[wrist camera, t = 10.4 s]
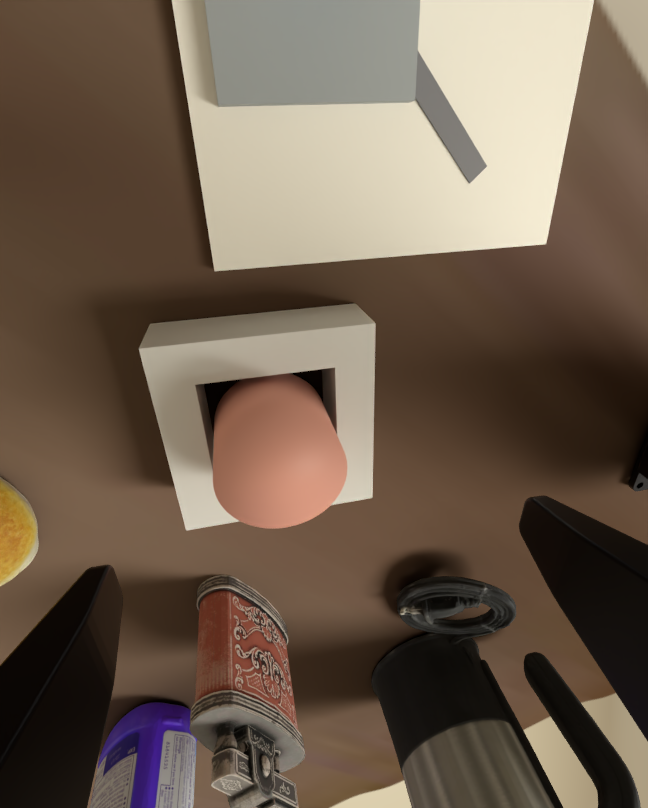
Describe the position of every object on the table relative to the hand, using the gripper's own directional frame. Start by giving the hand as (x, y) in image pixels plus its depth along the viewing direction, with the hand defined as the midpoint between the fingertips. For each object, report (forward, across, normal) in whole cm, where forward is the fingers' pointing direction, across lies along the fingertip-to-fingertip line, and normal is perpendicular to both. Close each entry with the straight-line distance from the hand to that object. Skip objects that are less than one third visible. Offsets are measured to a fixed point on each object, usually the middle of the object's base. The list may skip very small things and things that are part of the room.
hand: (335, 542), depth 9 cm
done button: (+10, +1, +3) cm, 11 cm away
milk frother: (+13, -10, +25) cm, 30 cm away
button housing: (+12, +1, +3) cm, 13 cm away
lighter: (+13, +3, +18) cm, 22 cm away
